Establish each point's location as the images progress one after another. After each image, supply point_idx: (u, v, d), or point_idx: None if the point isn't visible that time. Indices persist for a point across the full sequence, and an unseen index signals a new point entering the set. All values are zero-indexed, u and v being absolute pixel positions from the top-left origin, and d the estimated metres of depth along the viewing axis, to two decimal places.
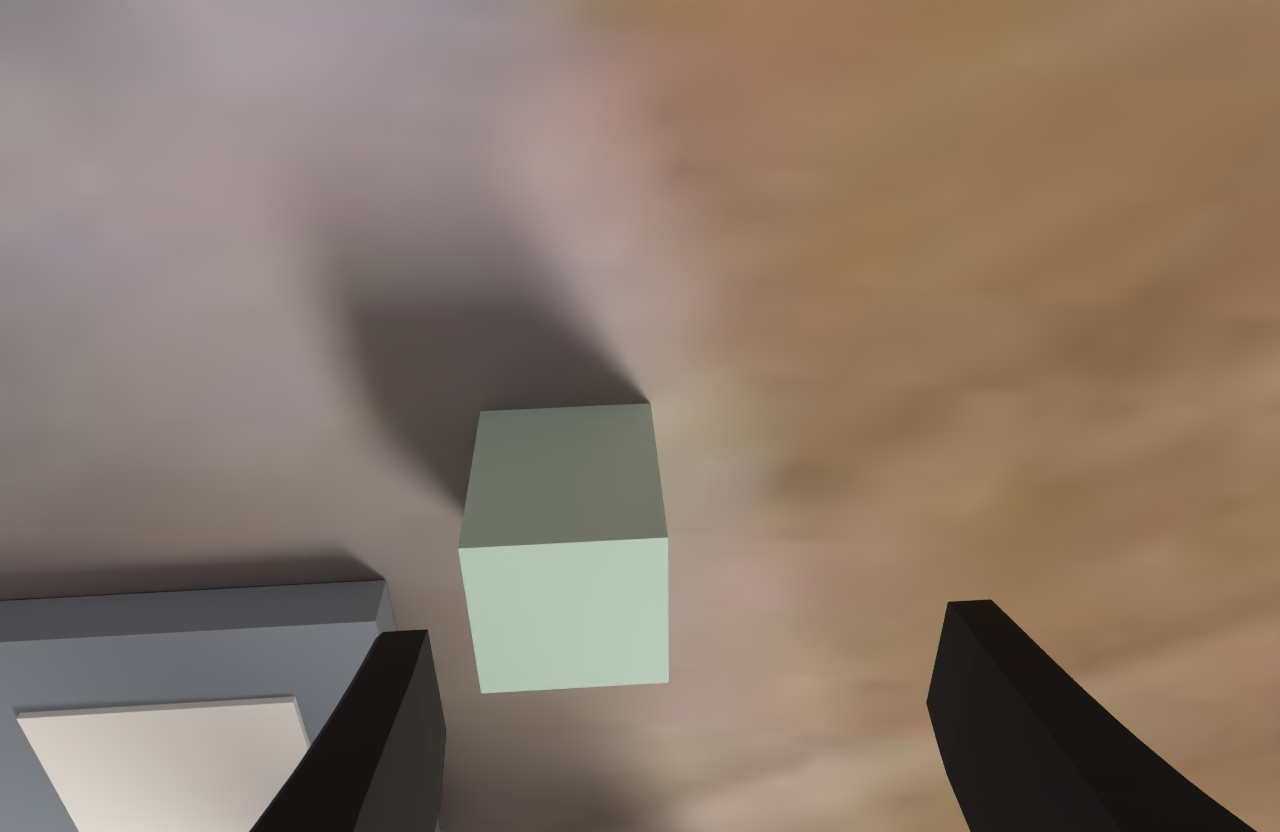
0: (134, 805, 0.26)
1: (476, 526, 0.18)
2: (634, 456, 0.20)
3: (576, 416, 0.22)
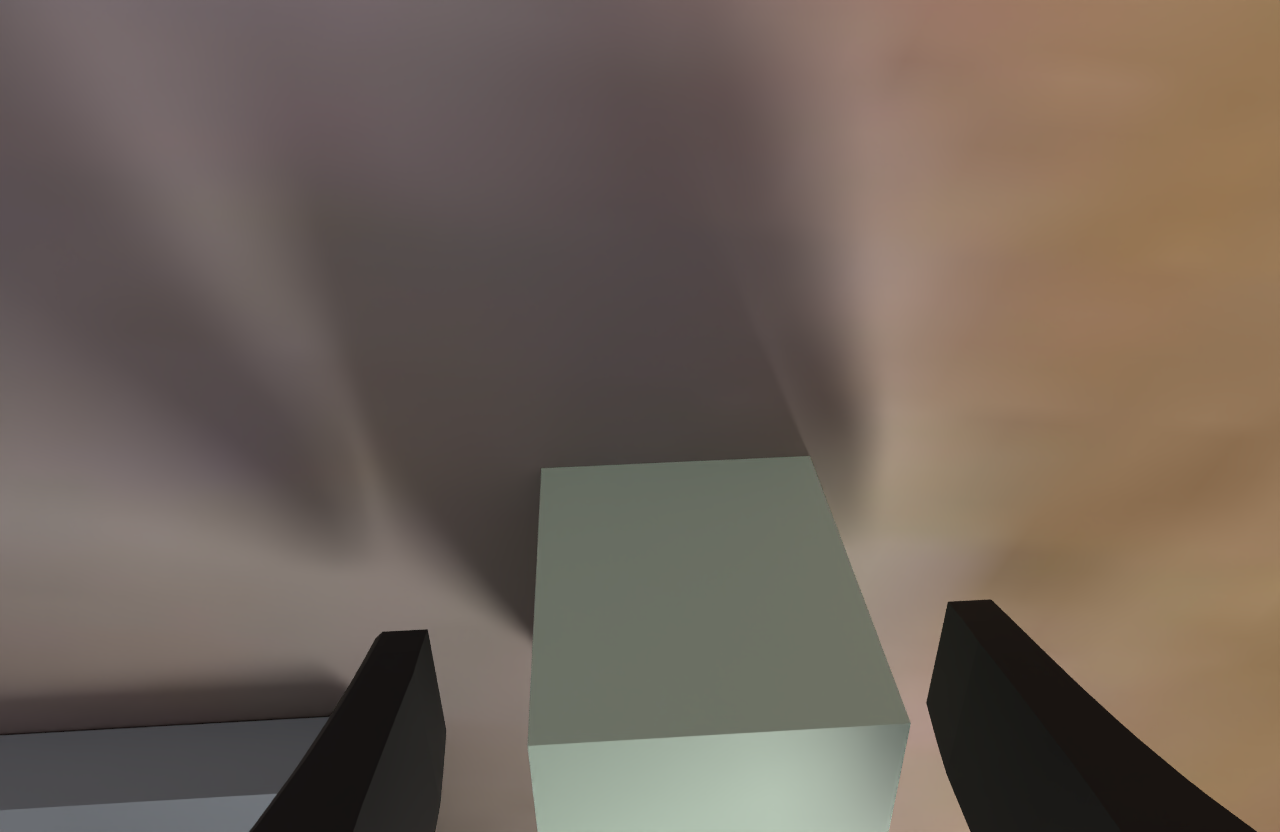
0: None
1: (557, 695, 0.10)
2: (807, 552, 0.12)
3: (696, 478, 0.14)
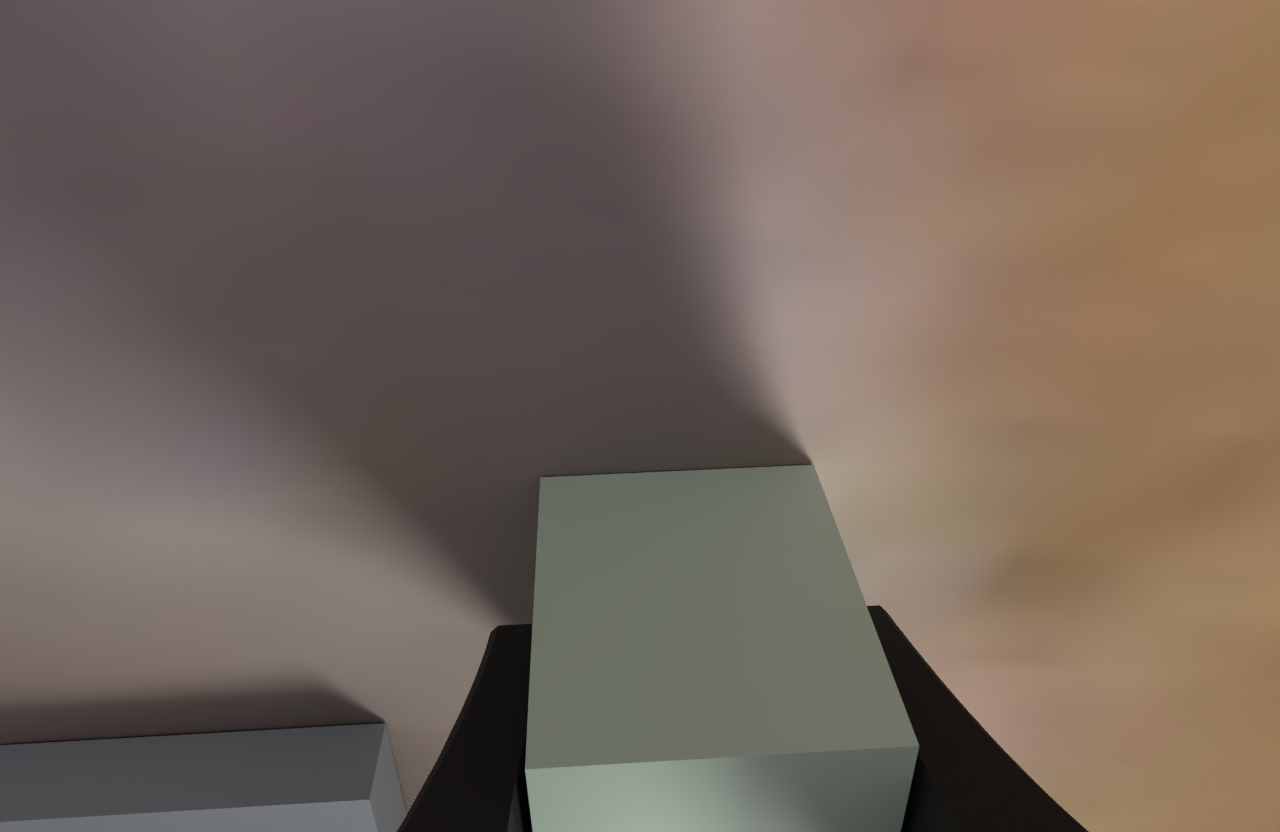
0: None
1: (555, 716, 0.10)
2: (812, 566, 0.12)
3: (698, 489, 0.13)
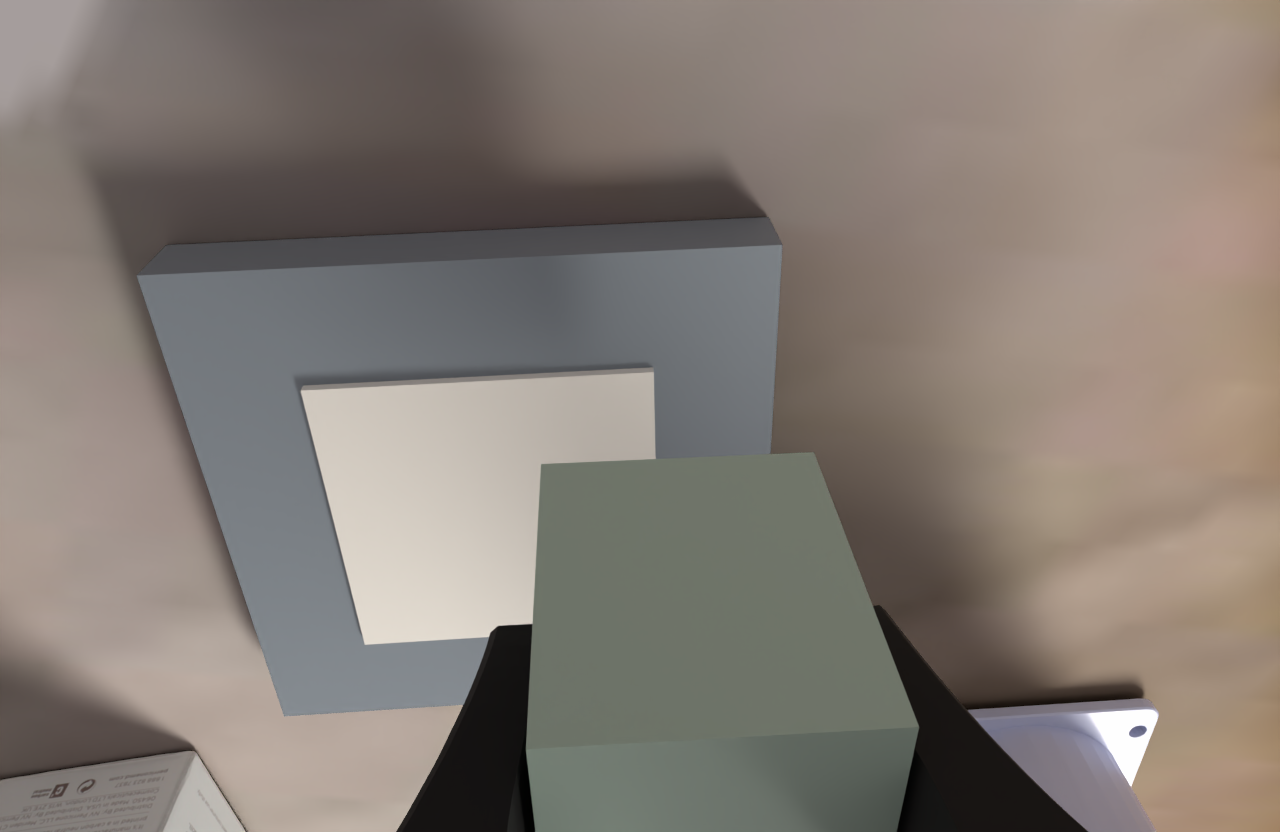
0: (422, 533, 0.21)
1: (556, 697, 0.10)
2: (812, 551, 0.12)
3: (699, 476, 0.13)
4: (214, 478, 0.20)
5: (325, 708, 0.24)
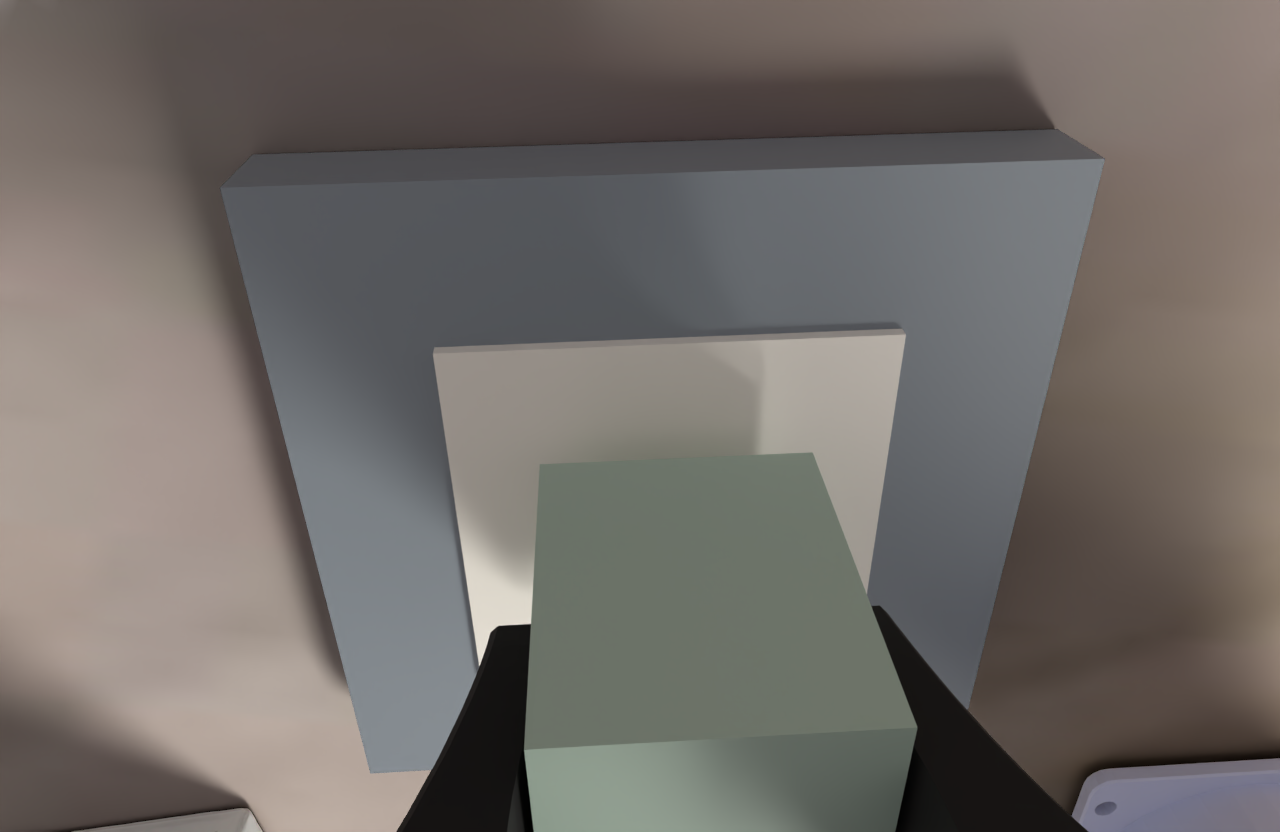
0: None
1: (555, 697, 0.10)
2: (811, 551, 0.12)
3: (698, 476, 0.13)
4: (305, 472, 0.15)
5: (423, 764, 0.19)
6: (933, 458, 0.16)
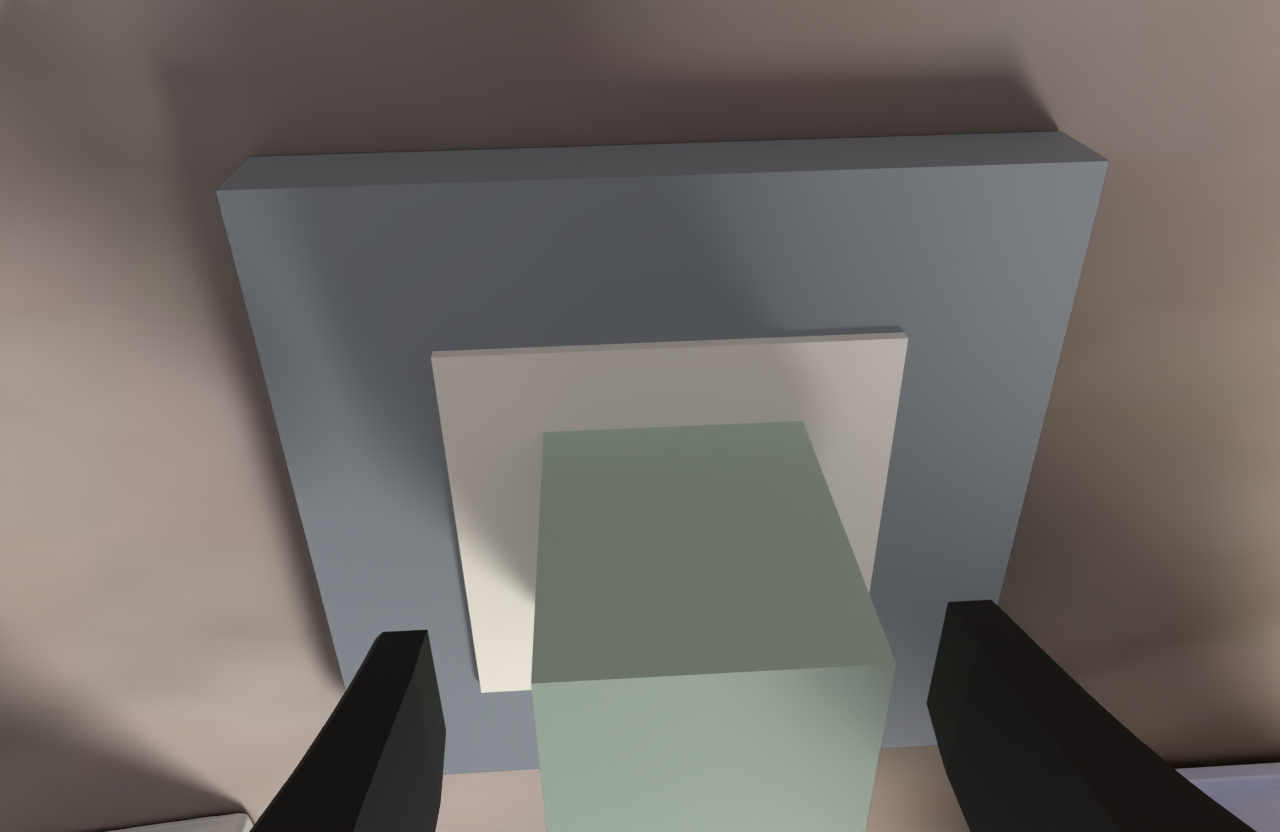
0: None
1: (559, 637, 0.11)
2: (800, 510, 0.13)
3: (693, 443, 0.14)
4: (302, 476, 0.15)
5: None
6: (935, 462, 0.15)
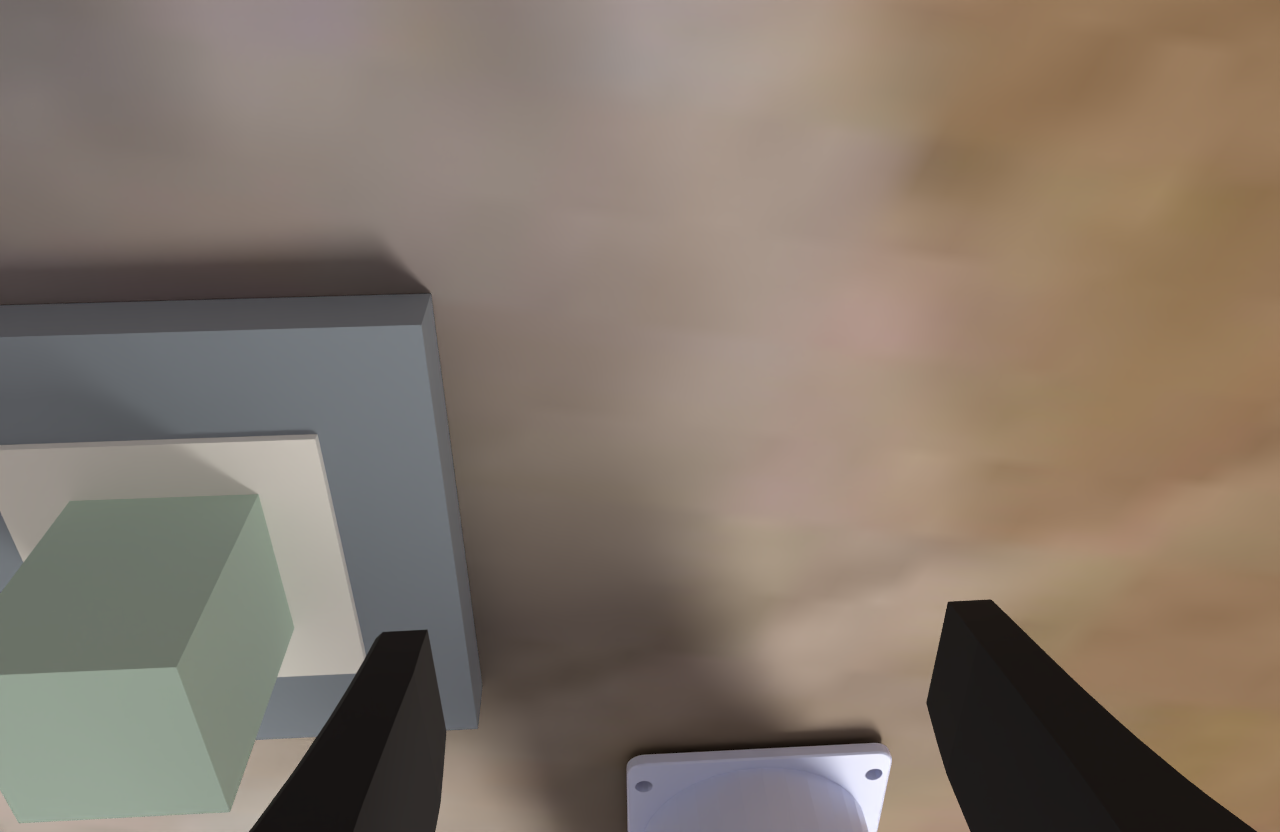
0: None
1: None
2: (201, 562, 0.19)
3: (168, 510, 0.20)
4: None
5: None
6: (375, 522, 0.21)
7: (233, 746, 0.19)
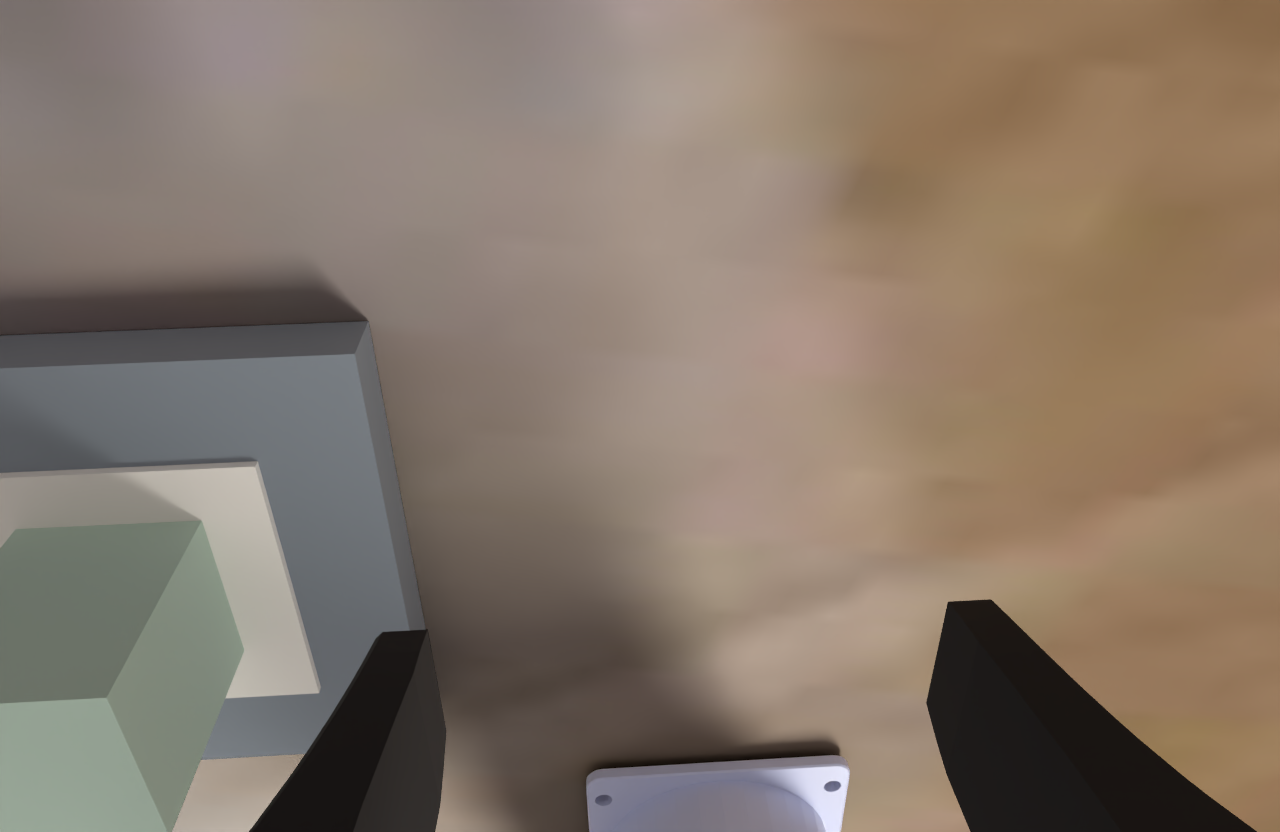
0: None
1: None
2: (139, 590, 0.19)
3: (112, 538, 0.20)
4: None
5: None
6: (319, 546, 0.22)
7: (173, 771, 0.19)
